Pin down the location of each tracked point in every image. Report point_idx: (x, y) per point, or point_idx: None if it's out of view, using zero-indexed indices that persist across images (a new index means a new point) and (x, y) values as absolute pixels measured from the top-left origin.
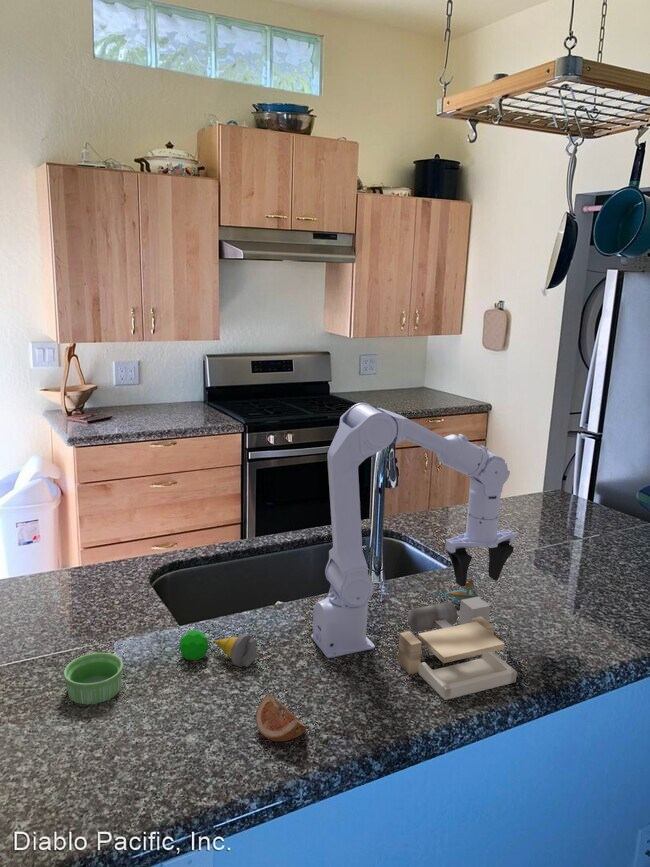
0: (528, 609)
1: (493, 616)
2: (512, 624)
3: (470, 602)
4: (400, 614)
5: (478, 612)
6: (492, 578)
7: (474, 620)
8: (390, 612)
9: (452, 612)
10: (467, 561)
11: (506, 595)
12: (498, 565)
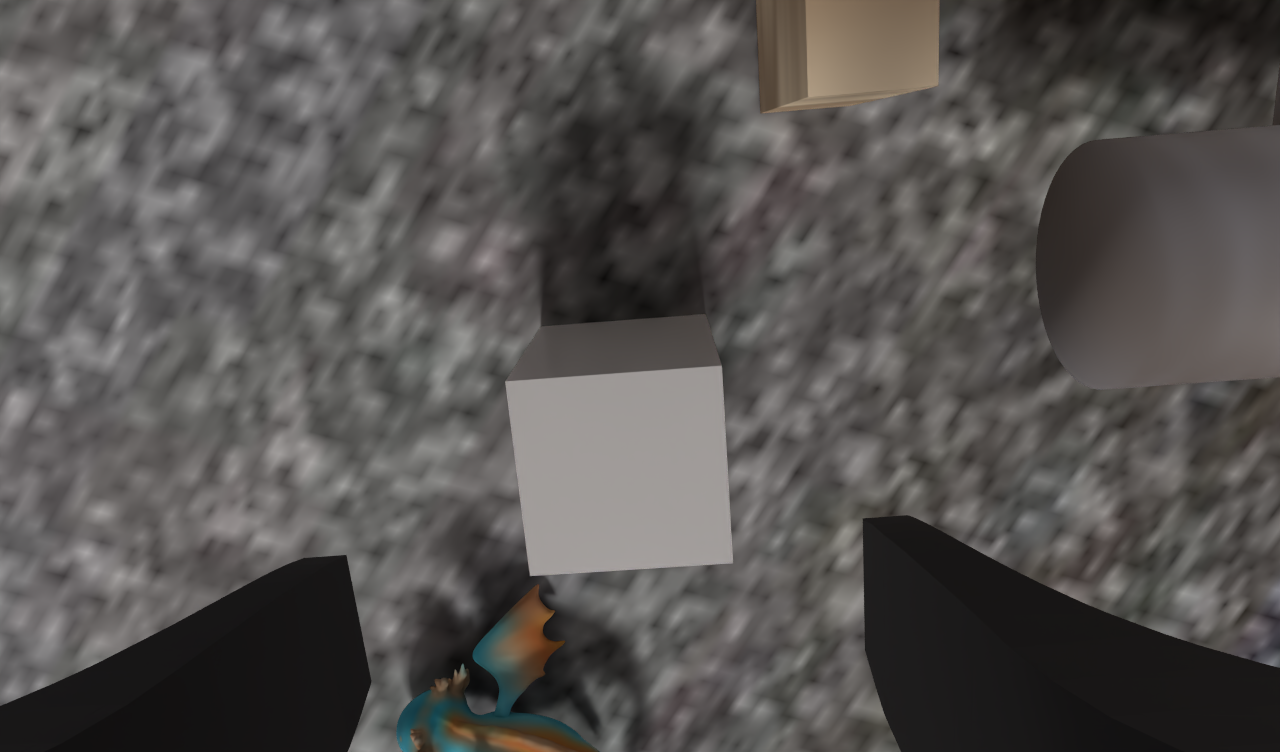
0: (67, 500)
1: (397, 481)
2: (308, 335)
3: (665, 494)
4: None
5: (646, 358)
6: (355, 614)
7: (938, 30)
8: None
9: (1199, 157)
10: (1227, 716)
11: None
12: (201, 687)
